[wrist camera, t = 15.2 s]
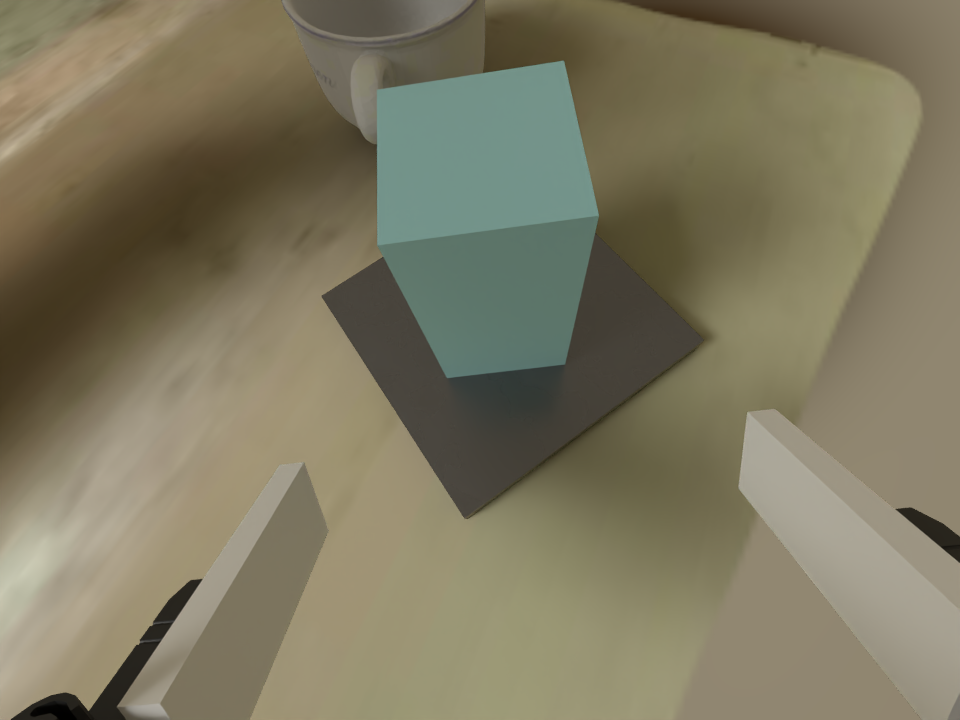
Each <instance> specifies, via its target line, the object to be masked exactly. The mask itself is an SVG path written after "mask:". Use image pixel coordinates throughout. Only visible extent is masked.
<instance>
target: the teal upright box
mask: <svg viewBox="0 0 960 720" xmlns="http://www.w3.org/2000/svg"><path fill="white" fill-rule="evenodd" d="M598 218H599V213H598V209H597V204H596V200H595V195H594V191H593V187H592V182H591V178H590V173H589V169H588V165H587V160H586V156H585V151H584V147H583V143H582V138H581V134H580V129H579V125H578V120H577V116H576V112H575V107H574V103H573V98H572V94H571V90H570V85H569V81H568V76H567V72H566V68H565V63H564V61H558V62H552V63H545V64H539V65H532V66H526V67H520V68H513V69H507V70H500V71H494V72H487V73H481V74H475V75H468V76H462V77H455V78H449V79H443V80H436V81H430V82H423V83H417V84H411V85H404V86H398V87H391V88H385V89H379V90H377V246H378V247H379V249H380V251H381V253H382V255H383V257H384V259H385V261H386V263H387V265H388V267H389V268H390V270H391V272H392V274H393V276H394V278H395V280H396V282H397V284H398V286H399V288H400V289H401V291H402V293H403V295H404V297H405V299H406V301H407V303H408V305H409V307H410V309H411V310H412V312H413V314H414V316H415V318H416V320H417V322H418V324H419V326H420V328H421V330H422V331H423V333H424V335H425V337H426V339H427V341H428V343H429V345H430V347H431V349H432V350H433V352H434V354H435V356H436V358H437V360H438V362H439V364H440V366H441V368H442V370H443V371H444V373H445V375H446V377H447V378H452V377H461V376H469V375H478V374H487V373H495V372H504V371H513V370H521V369H530V368H539V367H547V366H556V365H565V363H566V358H567V354H568V350H569V345H570V341H571V336H572V332H573V328H574V323H575V319H576V315H577V310H578V306H579V301H580V297H581V293H582V288H583V284H584V279H585V275H586V271H587V266H588V262H589V258H590V253H591V249H592V244H593V240H594V236H595V231H596V227H597V222H598Z"/></svg>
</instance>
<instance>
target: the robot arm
mask: <svg viewBox="0 0 960 720" xmlns="http://www.w3.org/2000/svg"><path fill="white" fill-rule="evenodd" d="M738 488H739V490H740V491H741V492H742V493H743V495H744V496H745V497H746V499H747V500H748V501H749V502H750V504H751V505H752V506H753V507H754V509H755V510H756V511H757V512H758V514H759V515H760V516H761V517H762V519H763V520H764V521H765V523H766V524H767V525H768V526H769V528H770V529H771V530H772V531H773V533H774V534H775V535H776V536H777V538H778V539H779V540H780V541H781V543H782V544H783V545H784V546H785V548H786V549H787V550H788V552H789V553H790V554H791V555H792V557H793V558H794V559H795V560H796V562H797V563H798V564H799V566H800V567H801V568H802V569H803V571H804V572H805V573H806V574H807V576H808V577H809V578H810V579H811V581H812V582H813V583H814V584H815V586H816V587H817V588H818V590H819V591H820V592H821V593H822V595H823V596H824V597H825V598H826V600H827V601H828V602H829V603H830V605H831V606H832V607H833V608H834V610H835V611H836V612H837V614H838V615H839V616H840V617H841V619H842V620H843V621H844V622H845V624H846V625H847V626H848V627H849V629H850V630H851V631H852V633H853V634H854V635H855V636H856V638H857V639H858V640H859V641H860V643H861V644H862V645H863V646H864V648H865V649H866V650H867V651H868V653H869V654H870V655H871V657H872V658H873V659H874V660H875V661H876V663H877V664H878V665H879V667H880V668H881V669H882V670H883V672H884V673H885V674H886V675H887V677H888V678H889V679H890V680H891V682H892V683H893V684H894V685H895V687H896V688H897V689H898V691H899V692H900V693H901V694H902V696H903V697H904V698H905V699H906V701H907V702H908V703H909V704H910V706H911V707H912V708H913V710H914V711H915V712H916V713H917V715H918V716H919V717H920V718H921V719H922V720H960V537H959V536H958V535H957V534H955V533H954V532H953V531H952V530H950V529H949V528H948V527H946V526H945V525H944V524H943V523H941V522H939V521H937V520H935V519H933V518H931V517H929V516H927V515H925V514H923V513H921V512H919V511H917V510H915V509H913V508H901V509H894V508H893V507H892V506H891V505H889V504H888V503H887V502H886V501H885V500H883V499H882V498H881V497H880V496H879V495H877V494H876V493H875V492H874V491H873V490H872V489H870V488H869V487H868V486H867V485H866V484H864V483H863V482H862V481H861V480H860V479H858V478H857V477H856V476H855V475H853V474H852V473H851V472H850V471H849V470H848V469H846V468H845V467H844V466H843V465H841V464H840V463H839V462H838V461H837V460H836V459H834V458H833V457H832V456H831V455H829V454H828V453H827V452H826V451H825V450H824V449H822V448H821V447H820V446H819V445H818V444H816V443H815V442H814V441H813V440H812V439H810V438H809V437H808V436H807V435H806V434H804V433H803V432H802V431H801V430H800V429H798V428H797V427H796V426H795V425H794V424H792V423H791V422H790V421H789V420H788V419H787V418H785V417H784V416H783V415H782V414H781V413H779V412H778V411H777V410H776V409H768V410H759V411H750V412H747V419H746V427H745V436H744V444H743V453H742V461H741V470H740V479H739V487H738ZM328 531H329V530H328V528H327V525H326V522H325V519H324V516H323V514H322V511H321V508H320V505H319V502H318V500H317V497H316V494H315V491H314V488H313V486H312V483H311V480H310V477H309V475H308V472H307V469H306V466H305V463H304V462H301V463H292V464H283V465H279V467H278V468H277V470H276V471H275V473H274V474H273V476H272V477H271V479H270V480H269V482H268V483H267V485H266V486H265V488H264V489H263V491H262V492H261V494H260V495H259V496H258V498H257V499H256V501H255V502H254V504H253V505H252V507H251V508H250V510H249V511H248V513H247V514H246V516H245V517H244V519H243V520H242V522H241V523H240V525H239V526H238V528H237V529H236V531H235V532H234V534H233V535H232V537H231V538H230V540H229V541H228V543H227V544H226V546H225V547H224V548H223V550H222V551H221V553H220V554H219V556H218V557H217V559H216V560H215V562H214V563H213V565H212V566H211V568H210V569H209V571H208V572H207V574H206V575H205V577H204V578H203V579H198V580H190V581H189V582H188V583H187V584H186V585H185V586H184V587H183V588H181V589H180V590H179V591H178V592H177V593H176V594H175V595H174V596H173V597H172V598H170V599H169V600H168V602H167V603H166V605H165V606H164V607H163V609H162V610H161V612H160V613H159V614H158V616H157V617H156V619H155V620H154V621H153V626H150V627H149V628H148V630H147V631H146V632H145V634H144V635H143V637H142V638H141V639H140V644H139V645H136V646H135V648H134V649H133V651H132V652H131V653H130V655H129V656H128V657H127V659H126V660H125V662H124V663H123V664H122V666H121V667H120V669H119V670H118V671H117V673H116V674H115V676H114V677H113V678H112V680H111V681H110V683H109V684H108V685H107V687H106V688H105V689H104V691H103V692H102V694H101V695H100V696H99V698H98V699H97V701H96V702H95V703H94V705H93V706H92V708H91V709H90V710H89V711H88V710H87V709H86V708H85V706H84V705H83V704H82V703H81V701H80V700H79V699H78V698H77V697H76V696H75V695H72V694H69V693H61V694H55V695H51V696H49V697H46V698H44V699H42V700H40V701H38V702H36V703H34V704H32V705H31V706H29V707H28V708H26V709H25V710H23V711H22V712H21V713H19V714H18V715H16V716H15V717H13V718H12V719H11V720H250V717H251V715H252V713H253V710H254V708H255V705H256V703H257V701H258V698H259V696H260V694H261V691H262V689H263V686H264V684H265V682H266V679H267V677H268V674H269V672H270V670H271V667H272V665H273V662H274V660H275V658H276V655H277V653H278V651H279V648H280V646H281V643H282V641H283V639H284V636H285V634H286V631H287V629H288V627H289V624H290V622H291V619H292V617H293V615H294V612H295V610H296V608H297V605H298V603H299V600H300V598H301V596H302V593H303V591H304V588H305V586H306V584H307V581H308V579H309V577H310V574H311V572H312V569H313V567H314V565H315V562H316V560H317V557H318V555H319V553H320V550H321V548H322V545H323V543H324V541H325V538H326V536H327V534H328Z"/></svg>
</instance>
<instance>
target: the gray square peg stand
mask: <svg viewBox="0 0 960 720" xmlns="http://www.w3.org/2000/svg"><path fill="white" fill-rule="evenodd" d="M322 298H323V299H324V301H325V303H326V304H327V306H328V307H329V309H330V310H331V312H332V313H333V315H334V317H335V318H336V320H337V321H338V323H339V324H340V326H341V327H342V329H343V331H344V332H345V334H346V335H347V337H348V338H349V340H350V341H351V343H352V344H353V346H354V348H355V349H356V351H357V352H358V354H359V355H360V357H361V358H362V360H363V362H364V363H365V365H366V366H367V368H368V369H369V371H370V372H371V374H372V376H373V377H374V379H375V380H376V382H377V383H378V385H379V386H380V388H381V390H382V391H383V393H384V394H385V396H386V397H387V399H388V400H389V402H390V403H391V405H392V407H393V408H394V410H395V411H396V413H397V414H398V416H399V417H400V419H401V421H402V422H403V424H404V425H405V427H406V428H407V430H408V431H409V433H410V435H411V436H412V438H413V439H414V441H415V442H416V444H417V445H418V447H419V448H420V450H421V452H422V453H423V455H424V456H425V458H426V459H427V461H428V462H429V464H430V466H431V467H432V469H433V470H434V472H435V473H436V475H437V476H438V478H439V480H440V481H441V483H442V484H443V486H444V487H445V489H446V490H447V492H448V494H449V495H450V497H451V498H452V500H453V501H454V503H455V504H456V506H457V507H458V509H459V511H460V512H461V514H462V515H463V517H464V518H465V519H468V518H469V517H471V516H472V515H473V514H475V513H476V512H478V511H479V510H480V509H482V508H483V507H484V506H486V505H487V504H488V503H490V502H491V501H492V500H494V499H495V498H496V497H498V496H499V495H500V494H502V493H503V492H504V491H506V490H507V489H508V488H510V487H511V486H512V485H514V484H515V483H516V482H518V481H519V480H520V479H522V478H523V477H524V476H526V475H527V474H528V473H530V472H531V471H533V470H534V469H535V468H537V467H538V466H539V465H541V464H542V463H543V462H545V461H546V460H547V459H549V458H550V457H551V456H553V455H554V454H555V453H557V452H558V451H559V450H561V449H562V448H563V447H565V446H566V445H567V444H569V443H570V442H571V441H573V440H574V439H575V438H577V437H578V436H579V435H581V434H582V433H584V432H585V431H586V430H588V429H589V428H590V427H592V426H593V425H594V424H596V423H597V422H598V421H600V420H601V419H602V418H604V417H605V416H606V415H608V414H609V413H610V412H612V411H613V410H614V409H616V408H617V407H618V406H620V405H621V404H622V403H624V402H625V401H626V400H628V399H629V398H630V397H632V396H633V395H634V394H636V393H637V392H639V391H640V390H641V389H643V388H644V387H645V386H647V385H648V384H649V383H651V382H652V381H653V380H655V379H656V378H657V377H659V376H660V375H661V374H663V373H664V372H665V371H667V370H668V369H669V368H671V367H672V366H673V365H675V364H676V363H677V362H679V361H680V360H681V359H683V358H684V357H685V356H687V355H688V354H689V353H691V352H692V351H694V350H695V349H696V348H697V347H698V346H699V345H700V344H701V343H702V342H703V341H704V339H703V338H702V337H701V336H700V335H699V334H698V333H697V332H696V331H694V330H693V329H692V328H691V327H690V326H689V325H688V324H687V323H686V322H685V321H684V320H683V319H682V318H681V317H680V316H679V315H678V314H677V313H676V312H675V311H674V310H673V309H672V308H671V307H670V306H669V305H668V304H667V303H666V302H665V301H664V300H663V299H662V298H661V297H660V296H659V295H658V294H657V293H656V292H655V291H654V290H653V289H652V288H651V287H650V286H649V285H648V284H647V283H646V282H645V281H644V280H643V279H641V278H640V277H639V276H638V275H637V274H636V273H635V272H634V271H633V270H632V269H631V268H630V267H629V266H628V265H627V264H626V263H625V262H624V261H623V260H622V259H621V258H620V257H619V256H618V255H617V254H616V253H615V252H614V251H613V250H612V249H611V248H610V247H609V246H608V245H607V244H606V243H605V242H604V241H603V240H602V239H601V238H600V237H599V236H598V235H597V234H596V233H595V236H594V240H593V244H592V249H591V253H590V258H589V262H588V266H587V271H586V275H585V279H584V284H583V288H582V293H581V297H580V301H579V306H578V310H577V315H576V319H575V323H574V328H573V332H572V336H571V341H570V345H569V350H568V354H567V358H566V363H565V365H556V366H547V367H539V368H530V369H521V370H513V371H504V372H495V373H487V374H478V375H469V376H461V377H452V378H447V377H446V375H445V373H444V371H443V370H442V368H441V366H440V364H439V362H438V360H437V358H436V356H435V354H434V352H433V350H432V349H431V347H430V345H429V343H428V341H427V339H426V337H425V335H424V333H423V331H422V330H421V328H420V326H419V324H418V322H417V320H416V318H415V316H414V314H413V312H412V310H411V309H410V307H409V305H408V303H407V301H406V299H405V297H404V295H403V293H402V291H401V289H400V288H399V286H398V284H397V282H396V280H395V278H394V276H393V274H392V272H391V270H390V268H389V267H388V265H387V263H386V261H385V259H384V257H382V258H381V259H379V260H378V261H376V262H375V263H373V264H371V265H370V266H368V267H367V268H365V269H363V270H362V271H360V272H359V273H357V274H356V275H354V276H352V277H351V278H349V279H348V280H346V281H345V282H343V283H341V284H340V285H338V286H337V287H335V288H333V289H332V290H330V291H329V292H327V293H326V294H324V295H322Z"/></svg>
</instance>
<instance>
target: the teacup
mask: <svg viewBox="0 0 960 720" xmlns="http://www.w3.org/2000/svg"><path fill="white" fill-rule="evenodd" d="M281 1H282V4H283V7H284V9H285V11H286V12H287V14H288V15H289V17H290V18H291V19H292V21H293V23H294V26H295V28H296V31H297V33H298V36H299V38H300V41H301V43H302V46H303V48H304V51H305V53H306V56H307V58H308V60H309V62H310V65H311V67H312V69H313V71H314V74H315V76H316V78H317V80H318V82H319V84H320V86H321V88H322V90H323V92H324V94H325V96H326V97H327V99H328V100H329V102H330V103H331V105H332V106H333V107H334V108H335V110H336V111H337V112H338V113H339V114H340V115H341V116H342V117H343V118H344V119H346V120H347V121H348V122H350V123H351V124H353V125H354V126H356V127H358V128H360V130H361V132H362V134H363V136H364V137H365V139H366V140H367V141H369V142H370V143H372V144H375V145H377V90H379V89H385V88H391V87H398V86H404V85H411V84H417V83H423V82H430V81H436V80H443V79H449V78H455V77H462V76H468V75H475V74H481V73H483V68H484V58H485V0H281Z"/></svg>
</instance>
